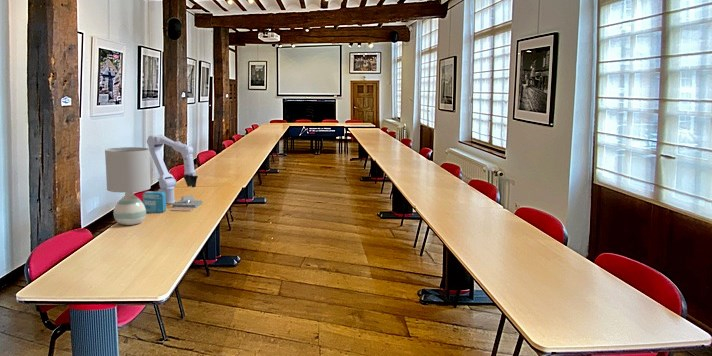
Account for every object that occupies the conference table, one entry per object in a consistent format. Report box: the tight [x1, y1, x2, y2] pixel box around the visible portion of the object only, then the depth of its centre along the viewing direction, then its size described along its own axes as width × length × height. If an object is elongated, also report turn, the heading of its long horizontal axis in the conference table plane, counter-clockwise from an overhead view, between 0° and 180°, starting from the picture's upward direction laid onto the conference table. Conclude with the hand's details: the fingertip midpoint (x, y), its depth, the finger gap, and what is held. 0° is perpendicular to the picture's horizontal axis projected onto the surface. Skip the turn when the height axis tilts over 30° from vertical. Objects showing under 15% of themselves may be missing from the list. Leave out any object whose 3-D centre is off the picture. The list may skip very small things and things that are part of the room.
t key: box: [180, 194, 195, 203], centre depth 341 cm, size 7×3×6 cm, turn 133°
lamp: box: [104, 146, 151, 226], centre depth 291 cm, size 22×22×40 cm
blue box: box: [142, 190, 167, 214], centre depth 321 cm, size 12×4×12 cm, turn 88°
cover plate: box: [172, 199, 203, 209], centre depth 341 cm, size 14×14×2 cm
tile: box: [170, 207, 196, 212], centre depth 329 cm, size 12×8×1 cm, turn 88°
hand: (191, 186), depth 339 cm, fingers open, 7 cm apart
